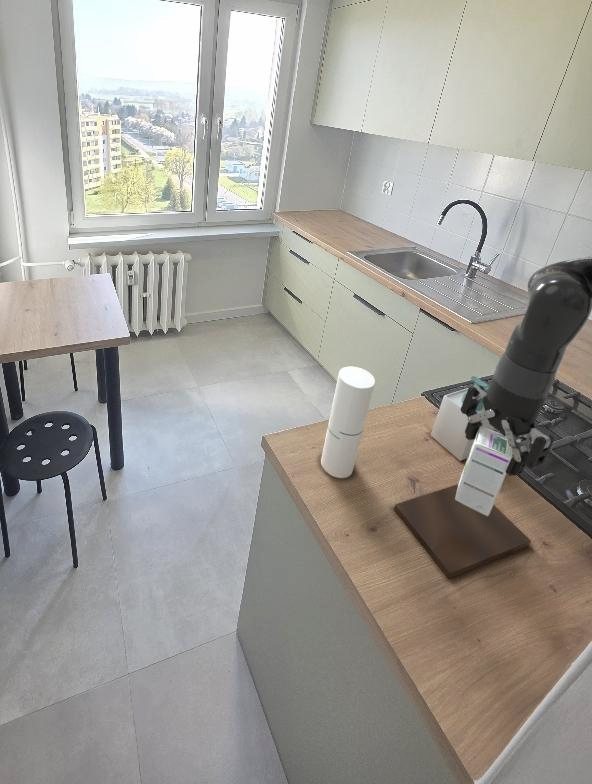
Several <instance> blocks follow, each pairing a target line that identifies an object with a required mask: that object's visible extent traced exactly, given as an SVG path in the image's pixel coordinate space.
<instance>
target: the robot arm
mask: <svg viewBox="0 0 592 784" xmlns="http://www.w3.org/2000/svg"><path fill="white" fill-rule="evenodd" d="M526 288H527V293H528V297H529V301H528V305H527V308H526V311H525V314H524V315H523V318H522V320H521V322H519V323H518V324H516V325H515V327H514V328H513V330H512V332H511V334H510V337H509V339H508V342H507V344H506V347H505V350H504V352H503V353H502V356H501V357H500V358H499V360H498V362H497V365H496V366H495V370H494V373H493V375H492V377H491V380H490V383H489V384H488V386H489V388H488V390H487V392H486V391H484V388H483V386H481V385H479V386H474V385H473V386H471V387H468V388H469V389H468V391H467V394H466V396H465V399H464V401H463V404H462V407H461V412H462V413H463V414H466V415H467V417H468V424H467V427H466V429H465V434H466V436H465V437H466V438H467V439H468V440H469V441H470V440H473V439H475V437H476V434H477V432H478V429H479V427H480V426H482V424H483V423H481V421H482V420H486V419H488V421H489V424H490V425H491V426H493V427H494V429H496V430H498V432H499V433H500V434H503V435H504V436H506V438H507V442H508V445H509V446H510V447H511V448H512V452H513V457H512V459H511V461H510V463H509V465H508V467H507V470H506V473H507V474H506V475H508V476H509V477H511V476H514V477H515V476H519V475H520V474H522V473H524V470H525V469H526V466H527V468H530V469H533V468H536V467H538V466H542V465H544V464H545V461H546V459H547V457H548V454H549V453H550V450H551V448H552V446H553V444H554V441H555V438H554V436H553V435H552V434H550V433H547V434H544V433H543V432H541V431H540V430H538V429H537V428H536V420H537V418H538V417H539V415H540V414H541V411H542V409H543V406H544V404H545V402H546V400H547V398H548V396H549V394H550V391H551V389H552V387H553V385H554V383H555V380H556V375H557V372H558V369H559V368H560V365H561V363H562V361H563V358H564V356H565V354H566V352H567V348H568V346H569V344H570V343H572V342H573V341H574V339H575V338H576V337H577V335H578V334H580V332H581V330H582V329H583V327H584V326H585V324H586V323H587V322H588V320H589V317H590V315H591V313H592V256H586V257H579V258H574V259H567V260H561V261H558V262H554V263H550V264H548V265H545V266H543V267H541V268H539V269H537V270H536V271H535V272H533V273H532V274H531V276H530V277H529V279H528V281H527V287H526ZM482 399H483V400H482ZM480 400H482V401H483V405H484V409H485V411H484V412H481V413H477V412H476V409H477V406H478V404H479V401H480ZM529 435H530V436H531V440H530V437H529ZM516 437H518V439H517V438H516ZM530 444H531V448H530Z"/></svg>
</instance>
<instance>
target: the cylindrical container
mask: <svg viewBox="0 0 592 784" xmlns="http://www.w3.org/2000/svg"><path fill="white" fill-rule="evenodd" d="M337 375H338V376H337V380H336V385H335V390H334V395H333V399H332V404H331V408H330V409H331V410H330V414H329V420H328V425H327V429H326V434H325V439H324V444H323V448H322V453H321V458H320V464H321V467H322V469H323V470H324V471H325V472H326V473H327V474H328V475H330V476H331V477H335V478H338V479H345V478H349V477H350V476H351V475H352V474H353V471H354V468H355V463H356V459H357V456H358V451H359V448H360V444H361V439H362V435H363V432H364V428H365V424H366V419H367V416H368V411H369V408H370V404H371V400H372V395H373V392H374V388H375V384H376V379H375V377H374V375H373V374H372V373H370V372H369V371H368V370H366V369H364V368H361V367H358V366H352V365H351V366H350V365H349V366H344V367H342V368H340V369H339V371H338V374H337Z"/></svg>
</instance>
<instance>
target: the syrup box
mask: <svg viewBox="0 0 592 784" xmlns="http://www.w3.org/2000/svg"><path fill="white" fill-rule="evenodd" d="M512 457H514V456H513V452H512V448H511V447H510V446H509V445H508V442H507V438H506V436H504V435H503V434H501V433H500V432H499V431H495V430H490V429H487V428H484V427H481V426H480V427H479V429H478V432H477V434H476V437H475V439H474V442H473V445H472V448H471V450H470V453H469V456H468V458H466V462H465V464H464V467H463V470H462V472H461V475H460V478H459V480H458V488H457V492H456V497H455V500H457V501H458V502H460V503H462V504H464V505H466V506H468V507H470V508H472V509H474V510H476V511H478V512H480V513H482V514H484V515H486V516H489V514H490V512H491V509H492V507H493V505H495V502H496V500H497V497H498V496H499V493H500V491H501V488H502V487H503V484H504V481H505V478H506V476H507V475H508V474H507V473H506V470H507V467H508V465H509V463H510V461H511V459H512Z"/></svg>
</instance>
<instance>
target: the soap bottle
mask: <svg viewBox="0 0 592 784" xmlns="http://www.w3.org/2000/svg"><path fill="white" fill-rule="evenodd" d="M470 380H471V381H473V383H474V384H473V387H474V386H479V385H481V386H483V388H484V391H485V392H486V393H487V390H488V388H489V384H487V383H486V382H484V381H483V380H482V379H480V378H479V377H477V376H476V375H475V376H474V375H473V376H470ZM469 388H470V387H467V388H464V389H460V390H457V391H453V392H450V393H448V394H445V395H443V398H442V399H441V403H440V406H439V410H438V412H437V416H436V417H435V418H436V419H435V421H434V424H433V427H432V430H431V433H430V436H431V437H432V438H433V439H434V440H435V441H436V442H438V443H439V445H441V446H442V447H443V448H444V449H445V450H447V451H448V452H449V453H450V454H451V455H453V457H455V458H456V459H457V460H458V461H459V462H461V461H464V460H467V458H468V456H469V453H470V450H471V448H472V445H473V442H474V439H473V440H470V441H469V440H468V439H467V438H466V437H465V436H466V434H465V429H466V427H467V424H468V417H467V415H466V414H463V413H462V412H461V407H462V404H463V401H464V399H465V396H466V394H467V391H468V389H469ZM482 400H483V399H482ZM482 400H480V401H479V404H478V406H477V409H476V412H477V413H481V412H484V411H485V409H484V405H483V401H482ZM481 423H483V424H482V426H481V427H484V428H487V429H490V430H493V431H495V428H494V427H493V426H491V425H490V424H489V421H488V419H486V420H482V421H481Z"/></svg>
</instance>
